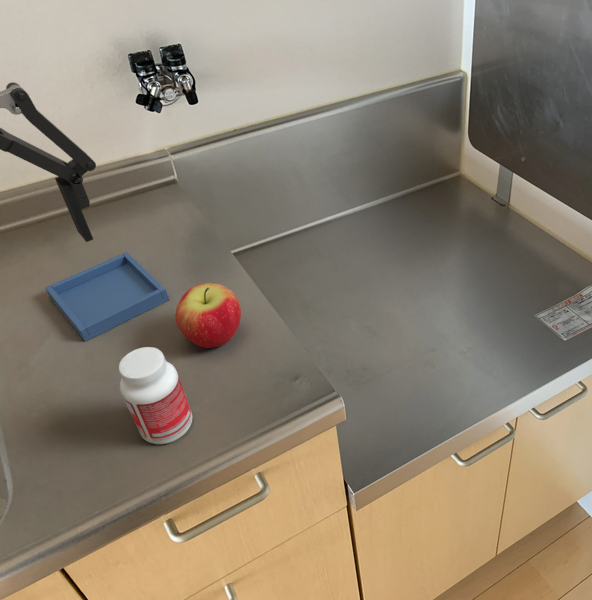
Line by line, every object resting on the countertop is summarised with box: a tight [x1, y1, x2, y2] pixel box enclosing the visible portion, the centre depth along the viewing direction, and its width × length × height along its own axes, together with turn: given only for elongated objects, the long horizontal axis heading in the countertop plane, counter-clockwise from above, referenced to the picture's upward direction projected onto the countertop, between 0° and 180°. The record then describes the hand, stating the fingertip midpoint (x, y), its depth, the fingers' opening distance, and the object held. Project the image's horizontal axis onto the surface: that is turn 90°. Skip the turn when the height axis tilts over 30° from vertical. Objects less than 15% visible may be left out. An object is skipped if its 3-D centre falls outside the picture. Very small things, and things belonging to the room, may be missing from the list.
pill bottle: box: [118, 346, 193, 445], centre depth 70 cm, size 6×6×11 cm
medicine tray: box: [44, 251, 170, 342], centre depth 90 cm, size 13×13×2 cm
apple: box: [174, 282, 242, 349], centre depth 81 cm, size 8×8×10 cm
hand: (18, 261), depth 62 cm, fingers open, 13 cm apart
